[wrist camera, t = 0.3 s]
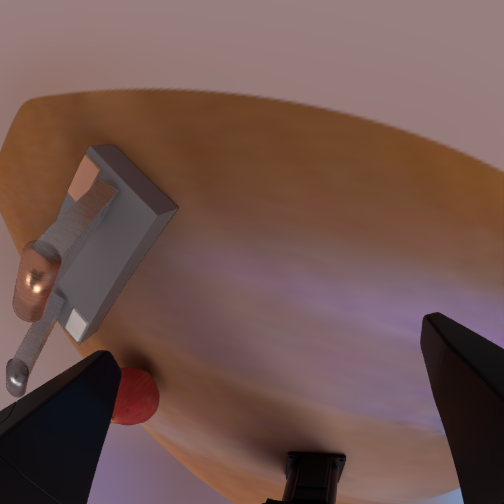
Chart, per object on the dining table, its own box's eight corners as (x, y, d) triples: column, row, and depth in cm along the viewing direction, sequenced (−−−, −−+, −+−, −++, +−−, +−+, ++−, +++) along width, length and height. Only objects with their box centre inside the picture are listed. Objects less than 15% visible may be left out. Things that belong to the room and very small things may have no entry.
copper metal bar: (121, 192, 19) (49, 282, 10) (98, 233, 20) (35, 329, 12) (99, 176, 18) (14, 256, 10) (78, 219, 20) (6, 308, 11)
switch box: (178, 208, 22) (155, 216, 19) (96, 331, 29) (77, 346, 26) (114, 144, 22) (87, 145, 19) (52, 279, 29) (31, 290, 26)
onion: (177, 399, 29) (142, 452, 21) (134, 388, 30) (96, 433, 23) (165, 357, 27) (120, 410, 20) (120, 348, 28) (73, 391, 21)
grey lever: (67, 301, 24) (23, 386, 15) (58, 323, 25) (21, 401, 17) (50, 290, 23) (2, 372, 15) (43, 312, 25) (2, 389, 16)
